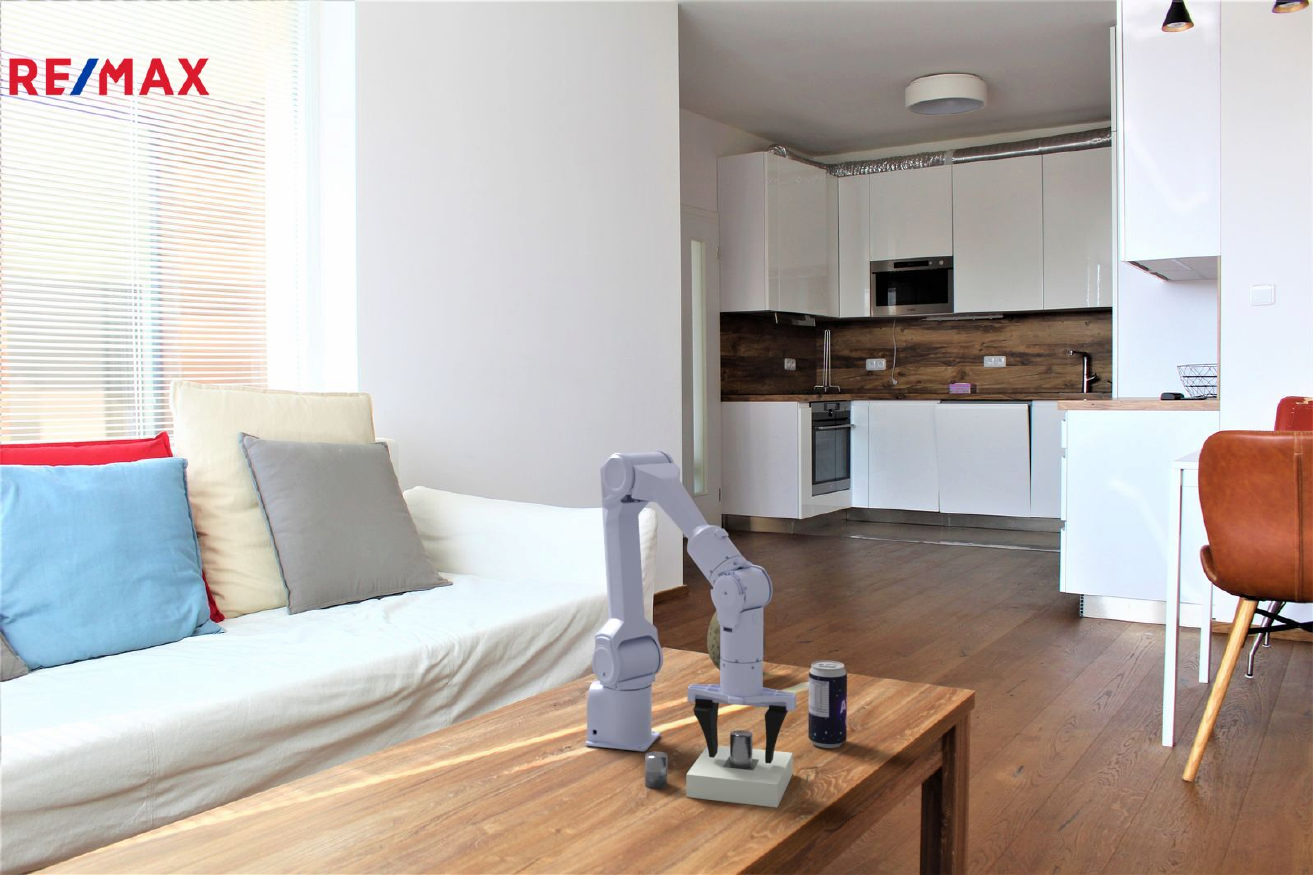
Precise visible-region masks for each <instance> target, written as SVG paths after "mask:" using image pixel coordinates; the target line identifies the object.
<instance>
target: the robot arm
mask: <svg viewBox="0 0 1313 875" xmlns="http://www.w3.org/2000/svg"><path fill="white" fill-rule="evenodd" d="M599 473H600V475H599V476H600V488H601V489H600V490H601V492H600V493H601V509H602V526H603V527H602V528H603V542H604V543H603V544H604V559H605V576H606V591H607V593H606V594H607V609H608V611H607V612H608V620H607V621H606V622H605V624H603V625H602V627H601V628H600V629H599V630H598V631H597V632H596V634H595V635H594V650H593V653H592V658H591V659H592V660H591V664H592V665H591V666H592V671H593V673H594V676H595V678H596V679H597V680H595V681H593V682H592V683H591V684H590V686H589V690H588V693H587V697H586V698H587V700H586V741H585V742H584V743H585V744H584V745H585V746H590V747H599V748H608V749H614V750H615V749H616V750H617V749H618V750H627V751H634V752H636V751H637V752H646V751H647V750H648V749H649V748H650V747H651V746H652V745H653V743H654V742H655V741H657V739H658V738H659V737H660V735H661V733H660V731H655V730H654V731H653V730H652V722H653V721H652V710H653V708H652V707H653V706H652V705H653V704H652V703H653V702H652V700H653V699H652V698H653V696H652V691H653V690H652V689H653V688H652V684H653V683H654V682H656V675H657V674H659V673H660V671H661V669H662V667H663V665H664V664H663V663H664V654H663V653H664V652H663V650H662V647H661V644H660V641H659V636H658V634H659V633H658V628H657V627H656V626H655V625H654V624H652V622H650V621H649V620H647V619H646V617H645V603H644V587H643V570H642V556H641V555H642V553H641V538H640V537H641V536H640V522H639V521H640V520H639V515H640V514H641V513H642V511H643V510H644V509H645V508H646V506H647V505H648V504H649V503H651V502H652V503H656V504H658V506H659V507H660V508H661V509H662V510H663V512H664V513H665V515H667V516H668V517H669V518H670V519H671V521H672V522H673V524H675V525H676V527H677V528H678V529H679V530H680V532H682V534H683V535H684V536H685V537H686V538H687V539H688V540H687V545H686V551H687V554H688V555H689V556H690V557H691V559H692V560H693V562H694V563H695V564H696V566H697V567H698V568H699V570H700V571H701V572H702V574H703V575H704V577H705V578H706V580H707V581H708V582H709V583H710V585H711V586H712V587H713V588H711V589H710V596H711V600H712V603H713V605H714V607H715V609H716V610H717V621H719V625H720V670H719V672H720V673H719V682H720V683H716V684H710V683H709V684H696V683H690V685H689V686H688V687H687V695H686V696H687V698H686V699H687V700H686V702H688V703H694V707H692V708H693V709H692V710H693V714H694V716H695V717H696V719H697V721H698V723H699V726H700V728H701V731H702V733H703V736H704V740H705V742H706V747H708V752H709V757H712V758H714V757H715V755H716V754H717V752H718V745H719V741H718V740H719V739H718V738H719V737H718V719H719V718H718V717H719V706H720V705H719V704H725V705H735V706H736V705H738V706H747V707H749V706H751V707H758V708H759V707H760V708H768V709H767V710H766V711H765V713H764V723H765V749H764V750H765V763H769V764H770V763H771V762H772V760H773V756H774V751H775V749H776V745H777V740H778V737H779V734H780V730H781V728H782V726H783V723H784V721H785V718H786V716H787V714H788V712H789V711H790V712H795V710H796V708H797V693H796V692H789V691H784V690H779V689H772V688H768V687H764V655H763V629H764V608H765V607H767V606H768V604H769V603H770V602H771V600H772V597H773V592H774V591H773V590H774V589H773V582H772V579H771V577H770V576H769V574H768V573H767V570H766V569H765V568H764V567H762V566H760V565H756V564H753V563H752V562H751V561H748V560H747V559H746V557H744V556H743V555H742V553H741V552H740V551H739V549H738V548H737V547H736V546H735V544H734V543H733V542H732V540H731V539H730V537H729V533H728V532H727V531H726V530H725V528H722V527H721V526H719V525H710V524H708V522H707V520H706V519H705V517H704V516H703V514H702V512H701V511H700V510H699V508H698V506H697V505H696V504H695V502H694V500H693V499H692V497H691V495H690V494H689V493H688V491H687V489H686V488H685V486H684V484H683V483H682V481H681V480H680V478H681V469H680V467H679V466H678V465H677V463H675V460H674V459H673V457H672V456H671V454H669V453H667V451H663V450H656V451H651V452H631V453H623V452H621V453H620V452H616V453H613V454H610V456H608V457H607V459H606V461H605V462H604V463H603V464H602V465H601V467H600V469H599ZM716 610H715V611H716Z"/></svg>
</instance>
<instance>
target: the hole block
mask: <svg viewBox="0 0 1313 875" xmlns="http://www.w3.org/2000/svg"><path fill="white" fill-rule="evenodd" d="M765 750H766V749H760V748H759V749H757V748H752V770H745V769H735V768H730V745H729V746H728V745H720V744H718V752H717V754H716V755H715V757H714V758H712V757H709V752H708V747H707V746H706V747H705V748H704V749H703V751H702V753H700V755H699V756H698V758H697V759H696V761H695V762H693V764H692V766H691V767H690V769H689V770H688V771H687V773H686V777H685V778H686V780H685V781H686V783H685V786H686V787H685V789H686V791H685V793H686V794H685V795H686V798H693V799H701V800H710V801H711V800H712V801H718V802H726V803H727V802H728V803H734V804H742V805H744V804H745V805H754V806H761V807H768V808H769V807H770V808H779V804H780V803H781V800H782V798H783V796H784V794H785V791H786V789H787V787H788V785H789V783H790V781H791V778H792V776H793V774H794V773H793V770H794V769H793V768H794V767H793V764H794V757H793V752H788V751H787V752H786V751H778V750H774V756H773V760H772V762H771V763H770V764H769V763H765Z"/></svg>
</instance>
